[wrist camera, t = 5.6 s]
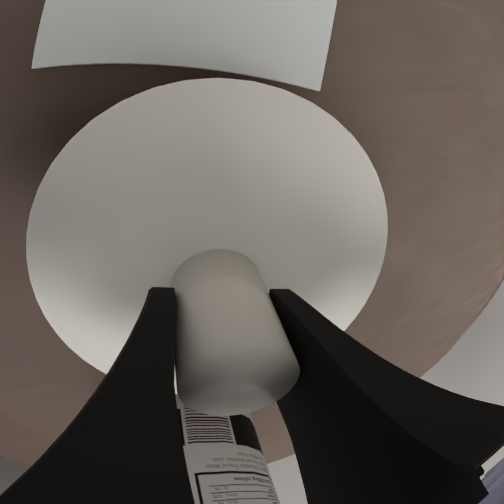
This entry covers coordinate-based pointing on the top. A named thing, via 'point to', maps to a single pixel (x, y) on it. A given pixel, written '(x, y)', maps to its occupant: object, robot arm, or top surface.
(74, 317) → the lid
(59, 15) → the mat
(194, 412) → the supplement can
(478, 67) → the top surface
